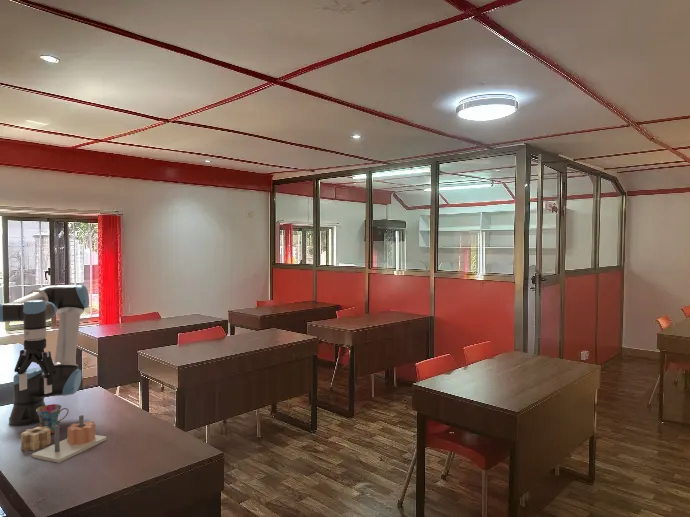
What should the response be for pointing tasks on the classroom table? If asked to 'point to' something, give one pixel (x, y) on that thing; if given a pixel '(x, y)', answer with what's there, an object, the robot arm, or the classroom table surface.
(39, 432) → the gear
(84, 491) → the classroom table surface
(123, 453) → the classroom table surface
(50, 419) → the mug
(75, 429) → the gear board
